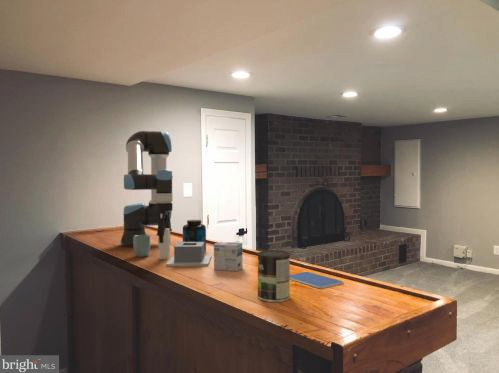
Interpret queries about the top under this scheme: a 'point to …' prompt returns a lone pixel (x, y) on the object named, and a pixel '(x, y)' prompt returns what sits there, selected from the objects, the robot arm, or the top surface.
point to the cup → (141, 245)
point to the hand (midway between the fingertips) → (164, 247)
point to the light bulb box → (228, 256)
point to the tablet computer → (315, 280)
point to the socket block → (189, 255)
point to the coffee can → (273, 275)
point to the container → (194, 232)
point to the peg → (166, 245)
